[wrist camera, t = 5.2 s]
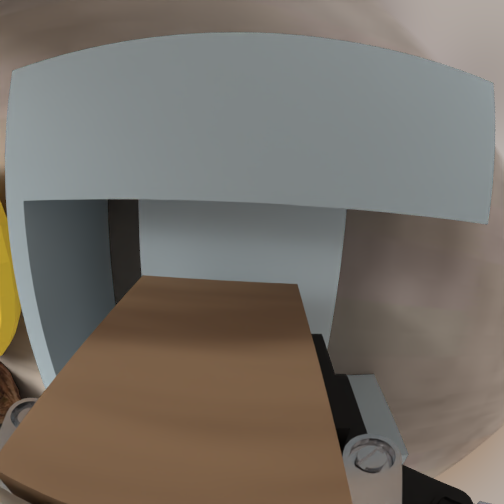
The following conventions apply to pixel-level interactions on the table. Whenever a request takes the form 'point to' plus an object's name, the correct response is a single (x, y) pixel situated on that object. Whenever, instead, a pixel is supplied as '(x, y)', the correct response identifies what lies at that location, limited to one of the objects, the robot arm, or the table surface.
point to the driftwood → (7, 392)
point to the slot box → (229, 169)
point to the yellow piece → (7, 288)
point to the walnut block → (185, 405)
